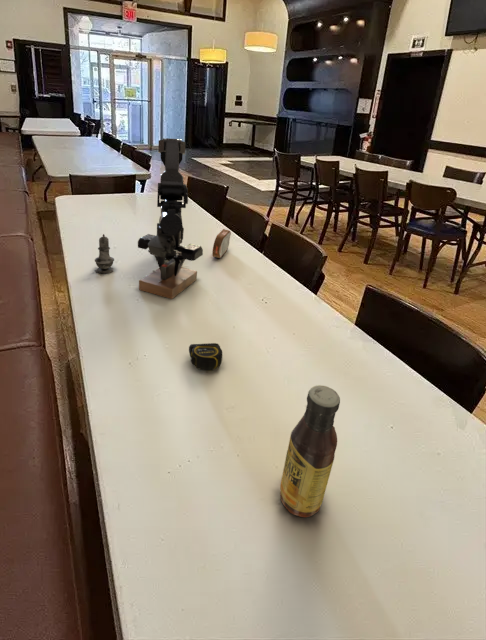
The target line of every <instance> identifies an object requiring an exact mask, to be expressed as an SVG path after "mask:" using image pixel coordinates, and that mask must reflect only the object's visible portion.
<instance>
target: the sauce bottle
mask: <svg viewBox="0 0 486 640" xmlns="http://www.w3.org/2000/svg"><path fill="white" fill-rule="evenodd" d="M340 404H341V396H340V395H339V394H338V392H337V391H336V390H334V389H333V388H331V387H329V386H327V385H321V384H320V385H314V386H312V387H310V389H309V390H308V392H307V395H306V408H305V412H304V413H303V415H302V417H301V418H300V420H298V422H297V424H296V425H295V426H294V428H293V429H292V431H291V432H290V436H289V440H288V446H287V450H286V453H285V460H284V466H283V470H282V475H281V480H280V487H279V489H280V492H279V494H280V500H281V503H282V504H283V506H284V507H285V509H286V510H287V511H288V512H289V513H290V514H292V515H293V516H297V517H299V518H300V517H301V518H310V517H312V516H314V515H315V514H316V513H318V512H319V511H320V510H321V506H322V504H323V501H324V497H325V493H326V490H327V487H328V483H329V479H330V475H331V472H332V469H333V464H334V461H335V455H336V450H337V447H338V435H337V434H338V433H337V432H336V428H335V426H334V423H335V418H336V413H337V412H338V411H339V408H340Z"/></svg>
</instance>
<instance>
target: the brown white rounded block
mask: <svg viewBox="0 0 486 640" xmlns="http://www.w3.org/2000/svg"><path fill="white" fill-rule="evenodd" d="M231 235H232V232H231V230H230V229H229V230H228V229H225V228H223V229H222V230H220V231H219V233H218V234H217V235H216V237H215V238H214V242H213V245H212V251H211V252H212V253H211V255H212V257H213V258H216V259H217V258H218V259H221V258H222V257H223V256H224V255H225V254H226V252H227V251H228V249H229V246H230V240H231Z"/></svg>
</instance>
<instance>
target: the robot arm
mask: <svg viewBox="0 0 486 640" xmlns="http://www.w3.org/2000/svg"><path fill="white" fill-rule="evenodd" d="M157 149H158V150H157V153H158V154H160V160H161V162H162V164H163V166H164V171H163V172H162V173H161V174H160V182H157V201H156V203H157V204H156V208H160V216H159V219H158V220H159V221H158V222H157V223H156V235H155V234H150V233H147V234H146V235H145V234H144V235H143V236H141V237H139V238H138V240H137V248H138V249H142V250H147V249H148V250H147V252H148V253H149V254H150V255H152V256H153V257H154V259H155V260H156V263H157V266H158V268H159V269H160V271H161V266H162V265H163V264H165V263H166V259H167V260H169V261H170V260H172V259H174V260H175V269H174V275H175V276H177V275H178V273H179V271H180V269H181V267H183V265H184V262H185V261H186V260H187V261H190V262H191V261H192V262H194V261H196V260H197V259H199V258H200V257H202V256H203V254H204V253H203V252H204V249H203V247H202V246H201V245H198V244H193V243H189V244H187V245H185V246H184V245H182V244H183V240H184V233H185V228H184V226H183V216H182V209H186V207H187V205H188V204H189V188H188V187H187V186H188V185H187V184H186V183H184V175H183V174H181V172H180V164H181V163H182V161H183V155H185V154H186V141H183V140H182V139H180V138H169V137H168V138H163V137H162V139H160V140H158V148H157Z"/></svg>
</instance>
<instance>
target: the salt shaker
mask: <svg viewBox="0 0 486 640" xmlns="http://www.w3.org/2000/svg"><path fill="white" fill-rule="evenodd" d="M109 242H110V241H109V238H108V237H107V236H106V235H105V234H104V233H103V234H102V236H101V237H99V240H98V244H99V245H98V247H97V250H98V256H97V257H95V259H94V263H95V265H96V266H97V268H96V269H95V272H96V273H98V274H102V275H106V274H111V273H113V272H114V268H113V267H112V266H113V264H114V261H115V258H114V257H112V256H111V254H110V249H111V247H110V243H109Z"/></svg>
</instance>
